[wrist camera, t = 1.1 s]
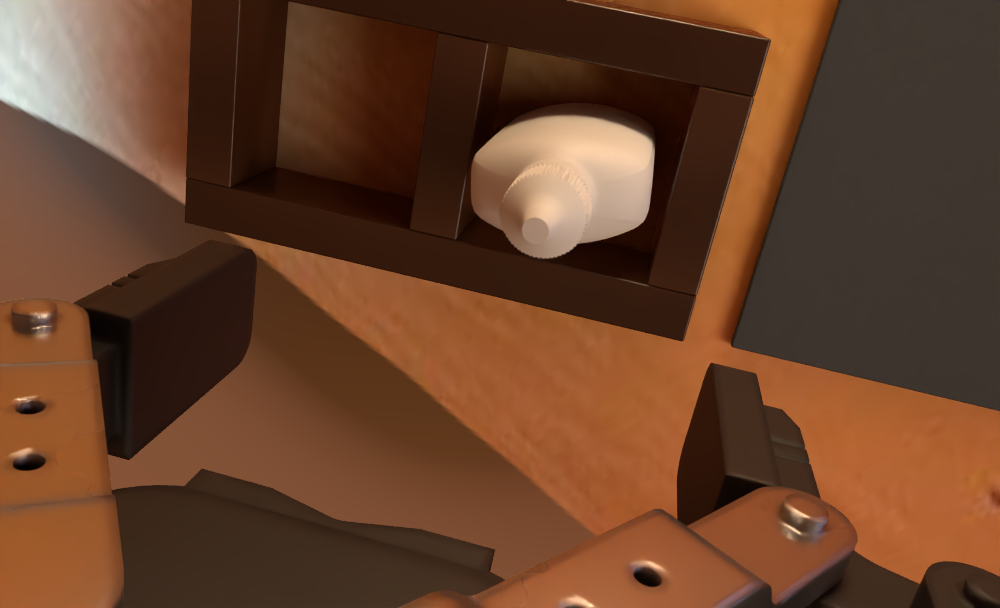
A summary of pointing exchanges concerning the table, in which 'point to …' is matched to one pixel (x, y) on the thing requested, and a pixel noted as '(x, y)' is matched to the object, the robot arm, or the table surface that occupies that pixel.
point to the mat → (892, 206)
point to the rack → (471, 150)
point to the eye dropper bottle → (565, 177)
